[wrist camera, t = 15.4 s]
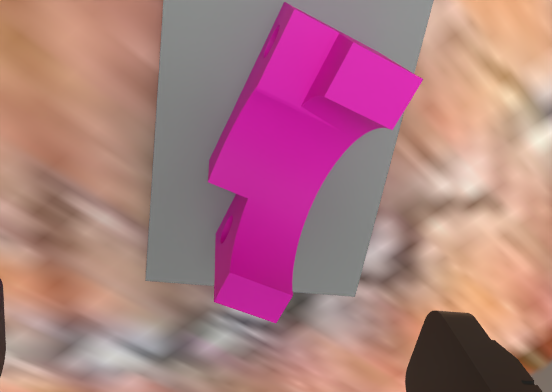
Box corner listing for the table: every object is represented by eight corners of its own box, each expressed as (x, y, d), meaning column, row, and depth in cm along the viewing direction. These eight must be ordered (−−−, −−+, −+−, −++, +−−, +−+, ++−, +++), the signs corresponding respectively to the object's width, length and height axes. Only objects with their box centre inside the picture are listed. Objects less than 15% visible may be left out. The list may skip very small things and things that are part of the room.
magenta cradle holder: (284, 1, 29) (303, 15, 22) (378, 51, 30) (423, 79, 23) (180, 220, 34) (169, 286, 27) (265, 253, 35) (276, 323, 29)
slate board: (147, 272, 36) (145, 280, 35) (168, -55, 28) (166, -55, 27) (351, 288, 39) (354, 296, 38) (429, -9, 30) (435, -8, 29)
